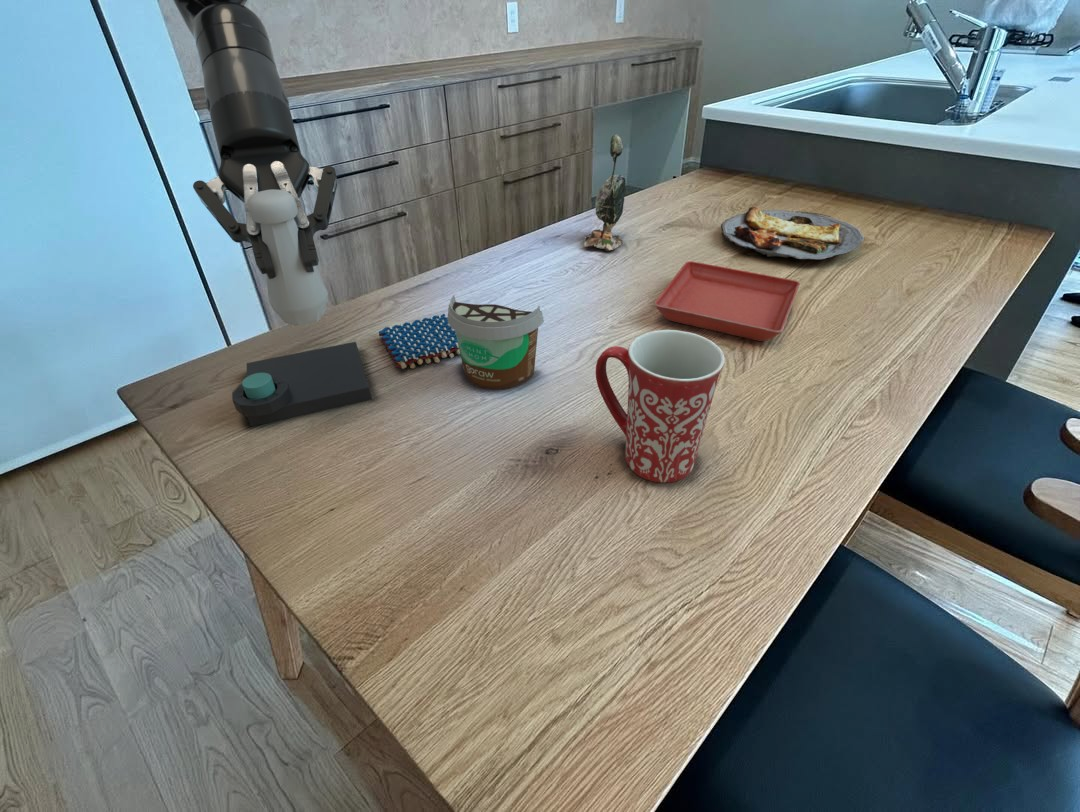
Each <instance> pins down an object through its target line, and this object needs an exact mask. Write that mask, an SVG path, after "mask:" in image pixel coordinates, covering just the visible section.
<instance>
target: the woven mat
mask: <svg viewBox="0 0 1080 812" xmlns="http://www.w3.org/2000/svg"><path fill="white" fill-rule="evenodd" d="M447 318H448V316H446V314H445V313H442V314H441V315H439V314H437V315H433V316H429V318H428V317H422V318H419V319H415V320H414V321H413V322H412V321H410V322H407V321H405V322H404V323H400V324H395V325H393V326H385V327H384V328H382V330H378V336H379V337H380V340H381V341H382V343H383V344H384V346H385V347H386V351H388V353H389V355H390V356H391V358H392V360H393V361H394V363H395V364H396V365H395V367H396V368H399V369H402V370H404V369H406V368H407V367H408V366H409V368H410V369H412V370H413V369H415V368H416V364H415V363H417V365H420V366H421V365H422V364H423V363H424V361H425V363H426V364H428V365H429V364H431V363H432V360H433V361H434V363H437V364H440V362H441V360H440V358H443V359H445V358H448V356H449V358H450V359H453V358H454V357H455V354H457V355H460V350H459V346H458V341H457V337H456V332H455V330H453V329H452V328H451V327H450V325H449V324H448V320H447ZM454 352H455V354H454ZM439 357H440V358H439ZM431 358H432V360H431Z"/></svg>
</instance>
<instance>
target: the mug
mask: <svg viewBox="0 0 1080 812" xmlns="http://www.w3.org/2000/svg"><path fill="white" fill-rule="evenodd" d="M609 358H613V359H615V360H618V361H620V363H621V364H623V366H624V368H625V369H626V372H627V376H628V377H627V379H628V387H627V388H628V389H627V390H628V391H627V392H628V393H627V410H626V411H627V412H626V411H625V409H624V408H623V407H622V405H621V403H620V400H618V397H617V396H616V393H615V392H614V389H613V388H612V386H611V382H610V380H609V378H608V373H607V362H608V360H609ZM725 364H726V356H725V353H724V352H723V350H722V349H721V348H720V346H719V345H718V344H717V343H715V342H713V341H712V340H710V339H709V338H707V337H705V336H702V335H699V334H697V333H694V332H689V331H685V330H679V329H659V330H653V331H648V332H645V333H642V334H640V335H638V336H637V337H635V338H634V339H633V340H631V342H630V344H629V346H628V348H626V347H622V346H617V345H614V346H610V347H608V348H606V349H605V350H604V351H603V352H602V353H601V354H600V355H599V357H598V358H597V361H596V363H595V379H596V384H597V385H596V386H597V387H598V390H599V393H600V395H601V397H602V400H603V402H604V404H605V406H606V408H607V409H608V411H609V413H610V415H611V416H612V418H613V419H614V421H615V422H616V424H617V425H618V427H619V429H620V430H621V431H622V432H623V434H624V436H625V449H624V450H625V452H624V453H625V454H624V455H625V456H624V457H625V461H626V464H627V465H628V468H630V470H631V471H632V472H633V473H635V474H636V475H638V476H639V477H641V478H643V479H645V480H647V481H651V482H655V483H675V482H678V481H680V480H683V479H684V478H686V477H687V476H689V475H690V474H691V472H692V471H693V470H694V466H695V463H696V459H697V456H698V453H699V448H700V445H701V441H702V439H703V435H704V431H705V428H706V424H707V420H708V417H709V412H710V410H711V406H712V403H713V398H714V395H715V393H716V389H717V384H718V380H719V377H720V374H721V372H722V370H723V369H724V367H725Z"/></svg>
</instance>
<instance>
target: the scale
mask: <svg viewBox="0 0 1080 812" xmlns="http://www.w3.org/2000/svg"><path fill="white" fill-rule="evenodd" d="M256 373H268V374H270V375H271V377H272V380H273V383H274V386H275V392H274V393H273V394H272V395H270V396H268V397H266V398H262V399H257V400H254V399H249V398H247V396H246V393H245V391H244V388H243V386H242V383H240V384H239V385H238V386H237V387H236V388H235V389H234V390H233V391H232V395H231V401H232V403H233V405H234V408H235V410H236V412H238V413H239V414H241V415H242V416H244V417H247V419H248V422H249V425H250V427H257V426H261V425H265V424H271V423H275V422H280V421H284V420H288V419H292V418H296V417H301V416H306V415H310V414H315V413H318V412H319V413H320V412H322V411H327V410H332V409H336V408H340V407H345V406H348V405H353V404H358V403H362V402H366V401H371V400H372V399H373V398H372V397H373V396H372V393H371V388H370V384H369V381H368V377H367V375H366V374H367V373H366V371H365V368H364V365H363V361H362V357H361V354H360V350H359V347H358V344H357V342H356V341H351V342H347V343H342V344H337V345H332V346H327V347H321V348H317V349H311V350H306V351H302V352H296V353H291V354H286V355H281V356H277V357H271V358H265V359H261V360H256V361H251V362H246V377H248V376H250V375H252V374H256Z"/></svg>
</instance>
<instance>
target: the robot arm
mask: <svg viewBox="0 0 1080 812" xmlns="http://www.w3.org/2000/svg"><path fill="white" fill-rule="evenodd" d="M172 1H173V3H174V5H175V6H176V8H177V11H178V12H179V14H180V16H181V18H182V20H183V21H184V23H185V25H186V27H187V29H188V31H189V32H190V34H191V35H192V37H193V39H194V41H195V47H196V51H197V55H198V59H199V63H200V67H201V72H202V77H203V88H204V90H203V91H204V95H205V104H206V109H207V111H208V113H209V116H210V121H211V126H212V129H213V133H214V137H215V141H216V146H217V149H218V154H219V158H220V159H219V160H220V165H219V168H218V171H217V175H218V176H216V177H213V178H212V179H210V180H208V181H207V182H205V181H204V180H196V181H194V183H193V185H192V187H193V190H194V192H195V194H196V195H197V197H198V198H199V200H200V202H201V203H202V204H203V206H204V207H205V208H206V210H208V212H209V213H210V215H211V216H213V218H214V220H216V222H217V223H218V224H219V225H220V226H221V228H222V229H223V231H225V233H226V234H227V236H228V237H229V238H230V239H231V240H232V241H233V242H234V243H242V242H246V243H249V244H251V248H252V252H253V257H254V261H255V265H256V266H257V269H258V270H259V271H260V273H261V275H266V274H267V276H268V278H269V279H273V278H275V277H276V275H275V271H274V268H273V264H272V261H271V257H270V254H269V250H268V247H267V245H266V244H265V243H264V242H263V241H262V233H261V225H260V223H257V222H254V221H253V219H252V218H251V216H250V213H249V210H248V205H247V201H248V199H249V198H250V197H251V195H253V194H255V193H258V192H260V191H265V190H272V189H273V190H284V191H287V192H289V193H290V194H291V195H292V196H293V197H294V199H295V202H296V204H297V209H298V213H297V215H296V216H295V217H294V218H293V219H294V221H295V223H296V225H297V227H298V229H299V230H298V241H299V245H300V249H301V252H302V256H303V260H304V264H305V268H306V271H307V272H314V269H313V266H316V267H317V266H319V262H320V259H319V256H318V251H317V248H316V244H315V240H314V235H315V234H316V233H317V232H319V231H326V230H327V229H328V228H329V224H330V220H331V216H332V211H333V206H334V201H335V196H336V193H337V188H338V178H337V172H336V169H335V167H333V166H331V165H326V166H324V167H323V168H320V167H315V166H312V165H310V163H309V161H308V160H307V158H305V157H304V156H303V154H302V151H301V148H300V143H299V140H298V136H297V132H296V128H295V123H294V120H293V116H292V112H291V108H290V101H289V99H288V96H287V93H286V89H285V87H284V85H283V82H282V79H281V77H280V75H279V72H278V69H277V64H276V60H275V57H274V53H273V48H272V44H271V40H270V37H269V35H268V32H267V30H266V27H265V25H264V23H263V21H262V20H261V18H259V16H258V15H257V14H256V13H255V12H254V11H253V10H251V9H250V8H249V7H247V6H245V5H246V3H247V2H248V0H172ZM310 180H311V181H312V182H313V187H314V189H315V191H316V192H317V195H316V199H315V204H314V208H313V212H312V213H309V214H306V212H305V210H304V208H303V205H302V202H301V200H300V198H301V196H302V195H303V192H304V191H305V189H306V187H307V185H308V183H309V181H310ZM226 190H227V191H229V192H230V193H231V194H232V195H234V196H235V197H236V198H237V199H238V200H240V201H241V202H242V203H243V204H244V211H245V220H246V221H245V222H246V223H243V222H238V221H237V220H236V218H235V217H234V216H233V215H232V213H231V212H230V211H229V210H228V208H227V207H226V206H225V205H224V204H225V202H226V200H227V199H226V196H225V193H224V192H225V191H226Z"/></svg>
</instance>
